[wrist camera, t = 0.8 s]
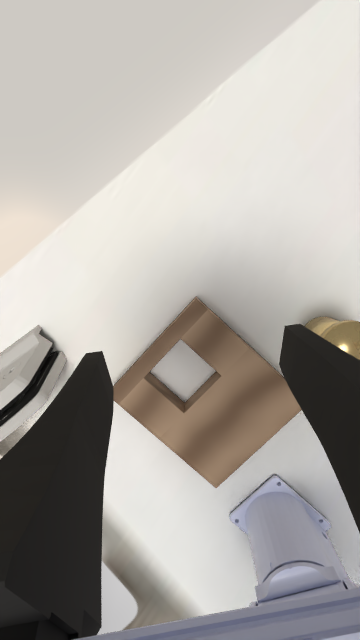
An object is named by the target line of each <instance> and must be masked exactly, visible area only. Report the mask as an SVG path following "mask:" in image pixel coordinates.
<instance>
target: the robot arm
mask: <svg viewBox="0 0 360 640" xmlns="http://www.w3.org/2000/svg"><path fill="white" fill-rule="evenodd" d="M279 365H280V367H281V370H282V373H283V375H284V377H285V380H286V382H287V384H288V387H289V388H290V390H291V392H292V394H293V395H294V397H295V399H296V401H297V402H298V404H299V406H300V407H301V409H302V411H303V413H304V414H305V416H306V418H307V419H308V421H309V423H310V424H311V426H312V428H313V430H314V431H315V433H316V435H317V436H318V438H319V440H320V442H321V444H322V446H323V448H324V450H325V452H326V454H327V457H328V459H329V461H330V463H331V465H332V468H333V470H334V472H335V474H336V477H337V479H338V481H339V483H340V486H341V488H342V490H343V493H344V495H345V497H346V500H347V502H348V505H349V507H350V510H351V512H352V515H353V517H354V520H355V522H356V525H357V527H358V530H359V533H360V360H359V359H357V358H355V357H354V356H352V355H350V354H348V353H347V352H345V351H343V350H342V349H340V348H338V347H337V346H335V345H334V344H332V343H330V342H329V341H327V340H326V339H324V338H322V337H321V336H319V335H318V334H316V333H314V332H313V331H311V330H309V329H308V328H306V327H304V326H303V325H301V324H296V325H289V326H285V329H284V336H283V342H282V349H281V356H280V363H279ZM113 395H114V388H113V385H112V381H111V378H110V375H109V372H108V368H107V365H106V362H105V359H104V355H103V352H102V351H100V352H92V353H86V354H85V356H84V357H83V358H82V360H81V361H80V363H79V364H78V366H77V368H76V369H75V371H74V372H73V374H72V375H71V376H70V378H69V379H68V381H67V382H66V384H65V385H64V386H63V388H62V389H61V391H60V392H59V393H58V395H57V396H56V398H55V399H54V400H53V402H52V403H51V404H50V405H49V407H48V408H47V409H46V410H45V412H44V413H43V414H42V415H41V417H40V418H39V419H38V420H37V421H36V423H35V424H34V425H33V426H32V427H31V428H30V430H29V431H28V432H27V433H26V434H25V435H24V436H23V437H22V438H21V439H20V441H19V442H18V443H17V444H16V445H15V446H14V447H13V448H12V449H11V450H10V451H9V452H8V453H7V454H5V455H4V456H3V457H2V458H1V459H0V640H360V587H359V586H358V585H357V584H355V583H354V582H352V581H351V579H350V578H349V576H348V574H347V572H346V570H345V568H344V566H343V564H342V562H341V560H340V558H339V556H338V555H337V553H336V551H335V549H334V547H333V545H332V543H331V541H330V539H329V537H328V535H327V533H326V531H327V530H328V529H330V528H331V524H330V522H329V521H328V520H327V519H326V518H325V517H323V516H322V515H321V514H320V513H319V512H318V511H317V510H316V509H314V508H313V507H312V506H311V505H310V504H309V503H308V502H306V501H305V500H304V499H303V498H302V497H301V496H300V495H299V494H297V493H296V492H295V491H294V490H293V489H292V488H291V487H289V486H288V485H287V484H286V483H285V482H284V481H283V480H282V479H280V478H279V477H278V476H272V477H271V478H270V479H269V480H268V481H267V482H266V483H264V484H263V485H262V486H261V487H260V488H259V489H258V490H257V491H255V492H254V493H253V494H252V495H251V496H250V497H249V498H248V499H246V500H245V501H244V502H243V503H242V504H241V505H240V506H239V507H237V508H236V509H235V510H234V511H233V512H232V513H231V514H230V516H229V517H230V520H231V521H232V522H233V523H234V524H235V525H237V526H238V527H239V528H240V529H241V530H242V531H244V532H245V533H246V534H247V535H248V537H249V541H250V546H251V551H252V556H253V561H254V566H255V571H256V576H257V581H258V586H255V590H256V595H257V600H258V603H257V602H256V601H255V602H251V603H250V605H249V607H247V608H242V609H237V610H231V611H226V612H220V613H215V614H209V615H204V616H198V617H193V618H188V619H182V620H177V621H171V622H166V623H160V624H155V625H149V626H144V627H139V628H133V629H128V630H122V631H118V632H111V633H107V634H101V635H97V633H98V632H99V630H100V628H101V557H102V515H103V491H104V476H105V467H106V460H107V453H108V446H109V439H110V432H111V425H112V417H113ZM278 482H280V483H279V484H277V483H278ZM236 519H238V520H236ZM320 519H321V520H320Z"/></svg>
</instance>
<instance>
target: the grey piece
mask: <svg viewBox="0 0 360 640" xmlns="http://www.w3.org/2000/svg"><path fill="white" fill-rule="evenodd" d="M41 329H42V328H41V327H40V326H39V325H38V326H37V327H35V328H34V329H32V330H31V331H30V332H28V333H27V334H26V335H24V336H23V337H22V338H20V339H19V340H17V341H16V342H15V343H13V344H12V345H11V346H9V347H8V348H7V349H5V350H4V351H3V352H1V353H0V441H2V440H3V439H4V438H6V437H7V436H8V435H9V434H11V433H12V432H13V431H14V430H16V429H17V428H18V427H19V426H20V425H22V424H23V423H24V422H25V421H26V420H27V419H28V418H30V417H31V416H32V415H33V414H34V413H35V412H36V411H37V410H39V409H40V408H41V407H42V406H43V405H44V404H45V402H46V401H47V400H48V398H49V396H50V394H51V392H52V389H53V387H54V385H55V383H56V381H57V379H58V377H59V375H60V373H61V371H62V369H63V367H64V365H65V363H66V361H67V359H66V357H65V355H64V354H63V352H62V351H61V352H59V353H58V352H54V353H53V354H52V355H50V353H51V351H52V350H53V348H52V347H51V346H52V344H53V343H52V342H50V341H49V340H47V339H46V338H44V337H43V336H41V335H40V334H39V332H40V331H41ZM49 355H50V356H49Z"/></svg>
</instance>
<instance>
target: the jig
mask: <svg viewBox="0 0 360 640" xmlns="http://www.w3.org/2000/svg"><path fill="white" fill-rule="evenodd" d="M180 339H181V340H182V341H184V342H185V343H186V344H187V345H188V346H189V347H190V348H191V349H192V350H194V351H195V352H196V353H197V354H198V355H199V356H200V357H201V358H202V359H204V360H205V361H206V362H207V363H208V364H209V365H210V366H211V367H212V368H214V369H215V370H216V372H215V373H214V374H213V375H212V376H211V377H210V378H209V379H208V380H207V381H206V382H205V383H204V384H203V385H202V386H201V387H200V388H199V389H198V390H197V391H196V392H195V393H194V394H193V395H192V396H191V397H190V398H189V399H188V400H187V401H186V402H185V403H184V402H183V401H182V400H181V399H180V398H178V397H177V396H176V395H175V394H174V393H173V392H172V391H170V390H169V389H168V388H167V387H166V386H165V385H164V384H162V383H161V382H160V381H159V380H158V379H157V378H156V377H154V376H153V375H152V374H151V373H150V370H151V369H152V368H153V367H154V366H155V365H156V364H157V363H158V362H159V361H160V360H161V359H162V358H163V357H164V356H165V355H166V353H167V352H168V351H169V350H170V349H171V348H172V347H173V346H174V345H175V344H176V343H177V342H178V341H179V340H180ZM113 388H114V395H113V400H114V401H115V402H116V403H117V404H119V405H120V406H121V407H122V408H123V409H124V410H126V411H127V412H128V413H129V414H130V415H131V416H133V417H134V418H135V419H136V420H137V421H138V422H140V423H141V424H142V425H143V426H144V427H145V428H147V429H148V430H149V431H150V432H151V433H152V434H154V435H155V436H156V437H157V438H158V439H159V440H160V441H162V442H163V443H164V444H165V445H166V446H167V447H169V448H170V449H171V450H172V451H173V452H174V453H176V454H177V455H178V456H179V457H180V458H181V459H183V460H184V461H185V462H186V463H187V464H188V465H190V466H191V467H192V468H193V469H194V470H195V471H197V472H198V473H199V474H200V475H201V476H202V477H204V478H205V479H206V480H207V481H208V482H209V483H211V484H212V485H213V486H214V487H215V488H217V487H218V486H219V485H220V484H221V483H222V482H224V481H225V480H226V479H227V478H228V477H229V476H230V475H231V474H232V473H233V472H234V471H236V470H237V469H238V468H239V467H240V466H241V465H242V464H243V463H244V462H245V461H246V460H247V459H249V458H250V457H251V456H252V455H253V454H254V453H255V452H256V451H257V450H258V449H259V448H261V447H262V446H263V445H264V444H265V443H266V442H267V441H268V440H269V439H270V438H271V437H273V436H274V435H275V434H276V433H277V432H278V431H279V430H280V429H281V428H282V427H283V426H285V425H286V424H287V423H288V422H289V421H290V420H291V419H292V418H293V417H294V416H295V415H296V414H298V413H299V412H300V411H301V410H302V409H301V407H300V406H299V404H298V402H297V401H296V399H295V397H294V395H293V394H292V392H291V390H290V388H289V387H288V384H287V382H286V380H285V378H284V377H283V376H282V375H281V374H280V373H279V372H278V371H276V370H275V369H274V368H273V367H272V366H271V365H270V364H269V363H268V362H267V361H266V360H265V359H263V358H262V357H261V356H260V355H259V354H258V353H257V352H256V351H255V350H254V349H253V348H252V347H250V346H249V345H248V344H247V343H246V342H245V341H244V340H243V339H242V338H241V337H240V336H238V335H237V334H236V333H235V332H234V331H233V330H232V329H231V328H230V327H229V326H228V325H227V324H225V323H224V322H223V321H222V320H221V319H220V318H219V317H218V316H217V315H216V314H215V313H213V312H212V311H211V310H210V309H209V308H208V307H207V306H206V305H205V304H204V303H203V302H202V301H200V300H199V299H198V298H197V297H195V298H194V299H193V300H192V301H191V303H190V304H189V305H188V306H187V307H186V308H185V309H184V310H183V311H182V312H181V313H180V314H179V316H178V317H177V318H176V319H175V320H174V321H173V322H172V323H171V324H170V325H169V326H168V327H167V329H166V330H165V331H164V332H163V333H162V334H161V335H160V336H159V337H158V338H157V339H156V340H155V341H154V343H153V344H152V345H151V346H150V347H149V348H148V349H147V350H146V351H145V352H144V353H143V354H142V356H141V357H140V358H139V359H138V360H137V361H136V362H135V363H134V364H133V365H132V366H131V367H130V368H129V370H128V371H127V372H126V373H125V374H124V375H123V376H122V377H121V378H120V379H119V380H118V381H117V383H116V384H115V385H114V386H113Z"/></svg>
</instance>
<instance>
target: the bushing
mask: <svg viewBox="0 0 360 640" xmlns="http://www.w3.org/2000/svg"><path fill="white" fill-rule="evenodd" d="M305 327H306V328H308V329H309V330H311V331H313V332H314V333H316V334H318V335H319V336H321V337H322V338H324V339H326V340H327V341H329V342H330V343H332V344H334V345H335V346H337V347H338V348H340V349H342V350H343V351H345V352H347V353H348V354H350V355H352V356H354V357H355V358H357V359H359V360H360V322H358V321H354V320H344V321H338V320H335V319H332V318H329V317H318V318H315V319H312V320H311V321H309V322H308V323H307V324H306V325H305Z"/></svg>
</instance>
